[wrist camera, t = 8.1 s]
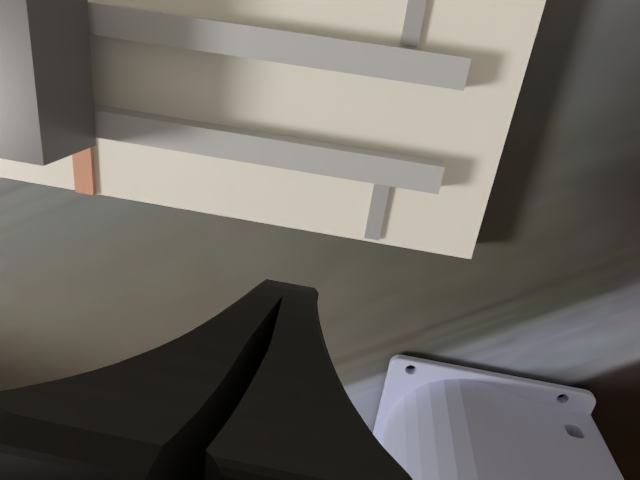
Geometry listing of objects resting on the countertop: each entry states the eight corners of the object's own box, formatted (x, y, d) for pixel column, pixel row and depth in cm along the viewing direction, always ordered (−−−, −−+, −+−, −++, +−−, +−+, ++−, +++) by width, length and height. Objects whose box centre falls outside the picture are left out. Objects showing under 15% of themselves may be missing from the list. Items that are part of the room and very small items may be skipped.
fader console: (539, -21, 16) (563, -29, 14) (465, 244, 21) (474, 270, 18) (-63, -102, 18) (-128, -121, 16) (-20, 160, 22) (-67, 175, 20)
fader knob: (103, -3, 17) (21, -12, 13) (110, 139, 19) (40, 167, 15) (-5, -19, 17) (-116, -32, 13) (14, 123, 19) (-79, 146, 15)
